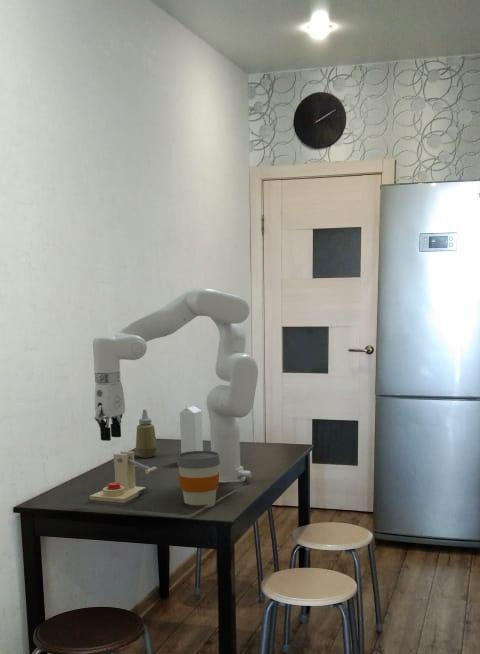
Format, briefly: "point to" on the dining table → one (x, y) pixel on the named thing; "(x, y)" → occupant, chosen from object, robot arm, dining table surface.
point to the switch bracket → (125, 471)
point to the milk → (191, 429)
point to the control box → (114, 495)
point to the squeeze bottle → (145, 437)
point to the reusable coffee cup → (199, 477)
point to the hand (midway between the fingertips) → (111, 438)
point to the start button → (113, 486)
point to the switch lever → (141, 466)
